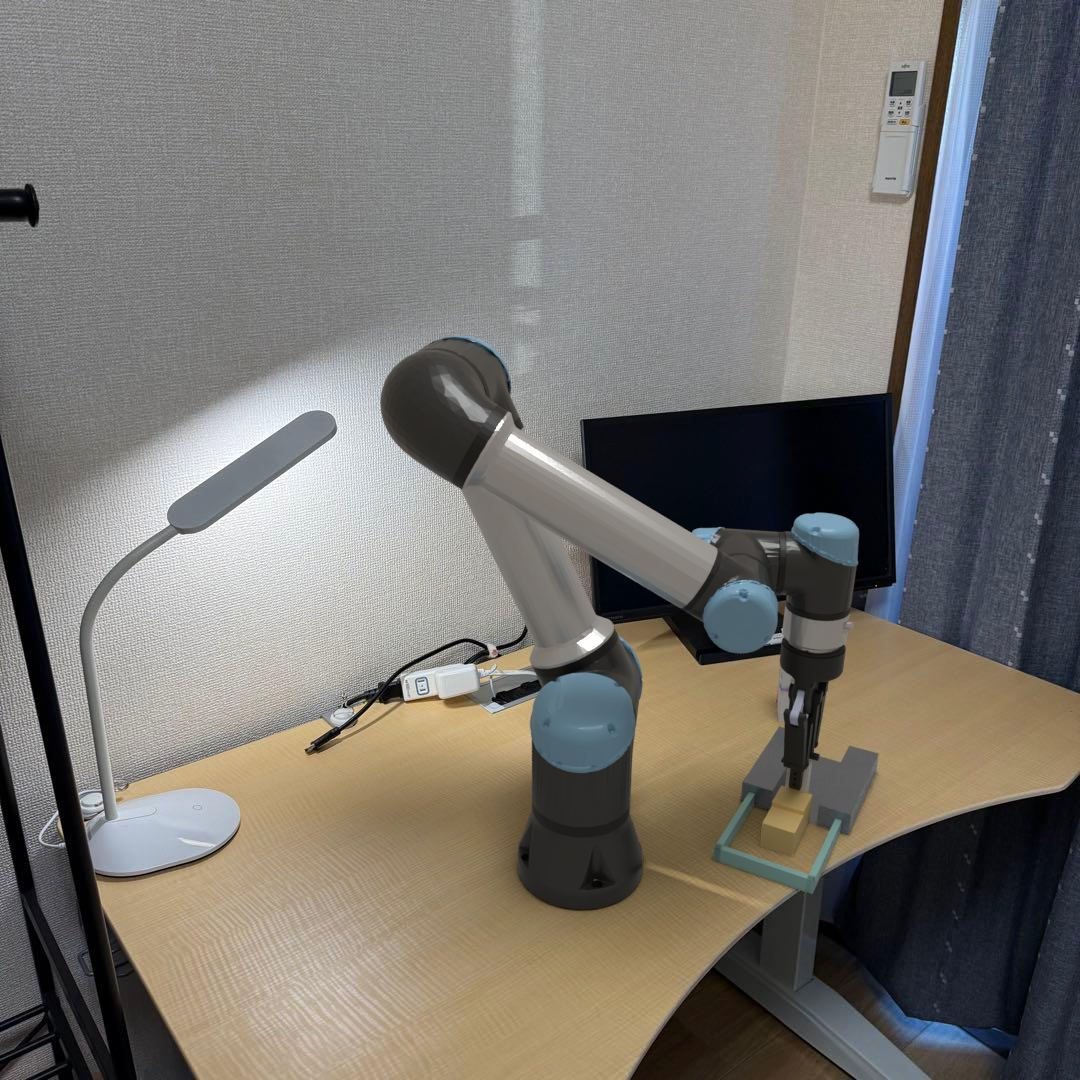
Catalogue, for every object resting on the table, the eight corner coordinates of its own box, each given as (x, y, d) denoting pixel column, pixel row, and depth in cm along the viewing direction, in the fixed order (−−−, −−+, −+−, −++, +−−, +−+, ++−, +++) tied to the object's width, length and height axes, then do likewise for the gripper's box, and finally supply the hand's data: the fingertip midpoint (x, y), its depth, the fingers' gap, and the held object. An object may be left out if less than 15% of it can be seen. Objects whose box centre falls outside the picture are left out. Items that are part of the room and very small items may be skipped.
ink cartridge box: (774, 701, 154) (782, 618, 149) (806, 704, 153) (815, 620, 148) (776, 728, 146) (784, 641, 141) (809, 732, 145) (819, 645, 140)
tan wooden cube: (791, 860, 117) (794, 833, 115) (759, 849, 118) (762, 822, 117) (800, 842, 120) (803, 815, 118) (769, 832, 122) (772, 805, 120)
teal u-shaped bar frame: (811, 902, 111) (813, 881, 110) (712, 867, 116) (714, 847, 115) (839, 840, 121) (841, 820, 120) (747, 811, 127) (749, 791, 126)
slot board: (847, 842, 121) (851, 814, 119) (740, 808, 127) (742, 781, 126) (875, 779, 134) (878, 753, 132) (776, 751, 140) (779, 726, 139)
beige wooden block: (800, 838, 120) (803, 811, 118) (769, 828, 122) (772, 801, 120) (809, 821, 123) (812, 794, 122) (778, 811, 125) (781, 785, 123)
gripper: (832, 669, 109) (810, 841, 117) (857, 627, 119) (836, 787, 128) (767, 654, 112) (751, 822, 120) (798, 614, 123) (781, 771, 131)
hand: (795, 804), depth 124 cm, fingers closed
